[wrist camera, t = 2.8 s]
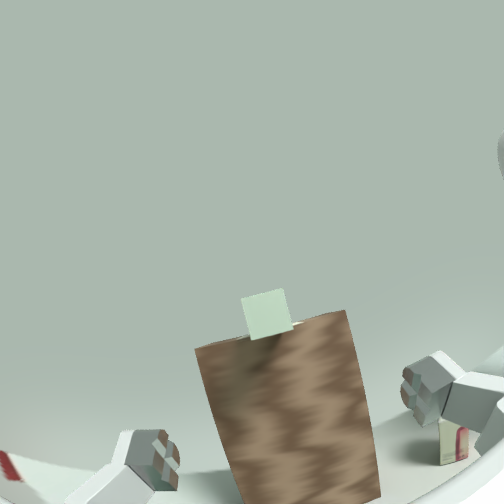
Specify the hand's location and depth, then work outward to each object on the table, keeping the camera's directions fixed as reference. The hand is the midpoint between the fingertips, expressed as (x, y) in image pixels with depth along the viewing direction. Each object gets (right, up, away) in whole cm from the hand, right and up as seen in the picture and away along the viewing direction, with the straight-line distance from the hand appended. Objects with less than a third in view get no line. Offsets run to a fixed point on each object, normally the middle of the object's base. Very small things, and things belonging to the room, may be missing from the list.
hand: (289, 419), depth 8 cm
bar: (+1, -3, +22) cm, 22 cm away
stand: (+7, -28, +18) cm, 34 cm away
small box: (+26, -23, +14) cm, 38 cm away
